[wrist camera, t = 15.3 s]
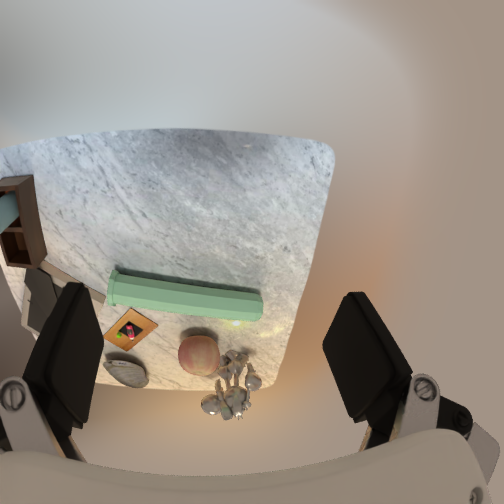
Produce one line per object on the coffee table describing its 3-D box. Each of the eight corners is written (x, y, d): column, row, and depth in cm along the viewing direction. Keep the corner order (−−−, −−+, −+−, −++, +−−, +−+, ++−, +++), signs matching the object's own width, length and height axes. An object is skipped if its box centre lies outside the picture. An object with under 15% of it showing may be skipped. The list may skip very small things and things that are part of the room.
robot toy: (212, 379, 60) (217, 435, 47) (193, 369, 57) (194, 429, 44) (261, 352, 56) (274, 413, 43) (242, 340, 53) (253, 406, 40)
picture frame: (34, 253, 36) (24, 318, 43) (27, 262, 33) (19, 327, 40) (106, 296, 43) (81, 350, 50) (102, 307, 40) (78, 360, 47)
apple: (170, 336, 50) (168, 370, 43) (199, 319, 48) (199, 354, 41) (198, 355, 54) (199, 387, 47) (226, 340, 52) (230, 373, 46)
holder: (18, 252, 35) (6, 266, 31) (2, 177, 28) (-13, 187, 24) (47, 254, 36) (36, 269, 33) (33, 174, 29) (17, 185, 25)
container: (269, 318, 42) (104, 296, 35) (257, 330, 46) (110, 312, 39) (267, 284, 45) (113, 262, 38) (255, 300, 50) (116, 280, 42)
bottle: (7, 187, 28) (-30, 216, 20) (25, 186, 29) (-12, 215, 21) (12, 213, 31) (-22, 244, 22) (29, 212, 31) (-4, 245, 23)
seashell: (160, 369, 55) (159, 388, 51) (140, 380, 57) (138, 397, 53) (117, 345, 50) (113, 364, 45) (100, 358, 52) (95, 376, 47)
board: (102, 336, 48) (101, 342, 46) (131, 307, 45) (129, 313, 43) (127, 350, 51) (126, 356, 50) (158, 325, 48) (157, 330, 46)
